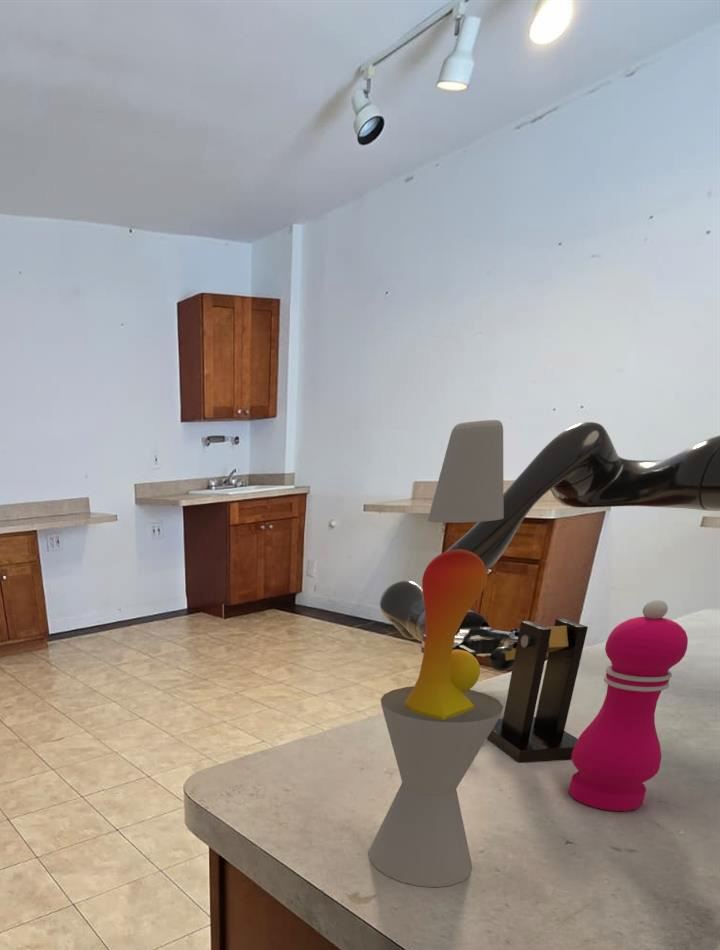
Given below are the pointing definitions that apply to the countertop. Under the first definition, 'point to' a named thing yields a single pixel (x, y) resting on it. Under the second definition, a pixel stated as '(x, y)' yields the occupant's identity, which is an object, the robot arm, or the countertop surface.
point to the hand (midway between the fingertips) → (506, 658)
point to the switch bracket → (546, 730)
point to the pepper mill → (628, 713)
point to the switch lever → (505, 655)
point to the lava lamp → (443, 682)
